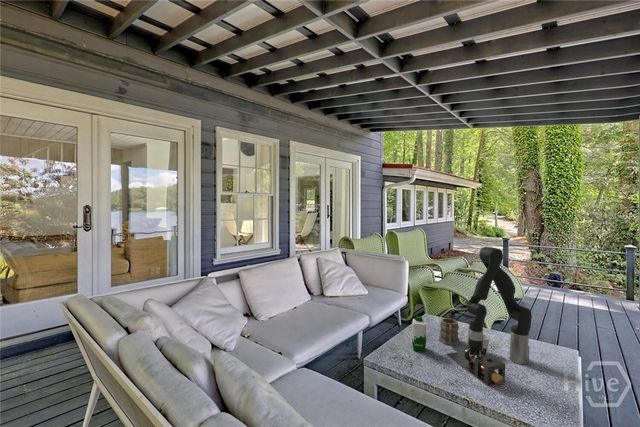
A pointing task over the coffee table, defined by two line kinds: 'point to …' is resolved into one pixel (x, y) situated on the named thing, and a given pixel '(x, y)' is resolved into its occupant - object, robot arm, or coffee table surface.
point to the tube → (494, 375)
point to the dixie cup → (485, 342)
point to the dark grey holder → (487, 361)
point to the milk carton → (419, 334)
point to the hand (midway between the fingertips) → (474, 366)
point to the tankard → (449, 331)
